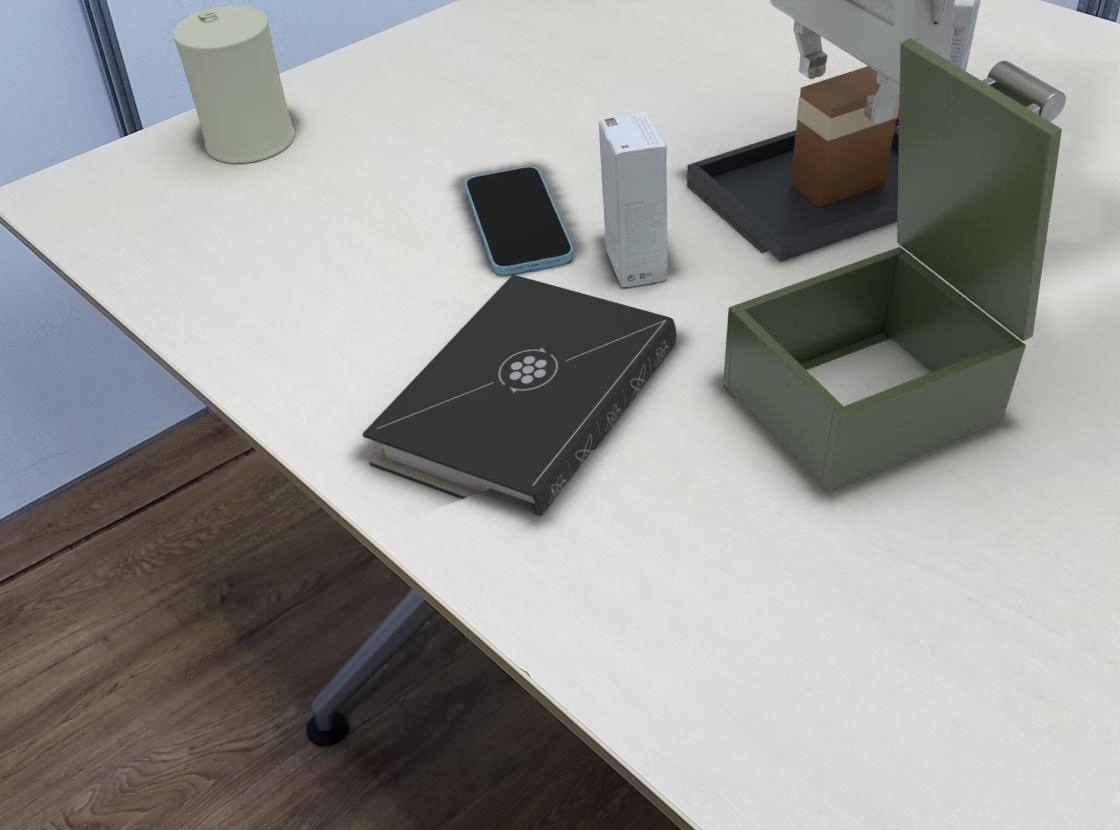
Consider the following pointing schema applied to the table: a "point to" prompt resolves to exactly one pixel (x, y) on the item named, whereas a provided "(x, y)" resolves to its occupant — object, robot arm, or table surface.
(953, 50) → the supplement box
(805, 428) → the green box base
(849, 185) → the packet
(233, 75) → the can
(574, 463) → the book
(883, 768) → the table surface
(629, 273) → the cosmetic box
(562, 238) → the smartphone
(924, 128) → the lid
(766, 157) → the tray
